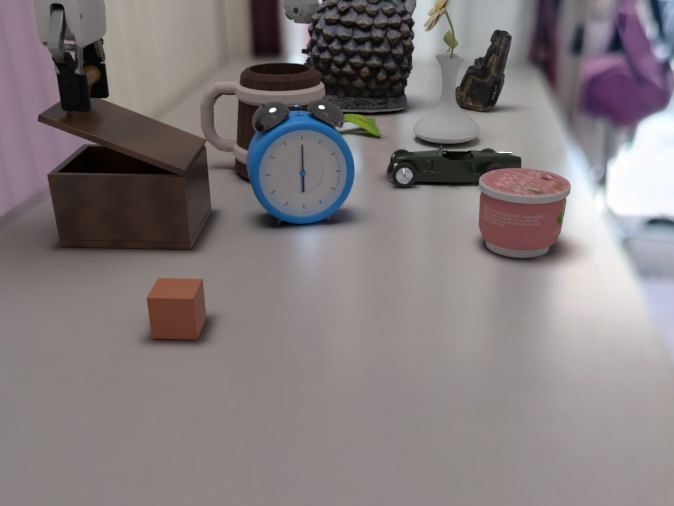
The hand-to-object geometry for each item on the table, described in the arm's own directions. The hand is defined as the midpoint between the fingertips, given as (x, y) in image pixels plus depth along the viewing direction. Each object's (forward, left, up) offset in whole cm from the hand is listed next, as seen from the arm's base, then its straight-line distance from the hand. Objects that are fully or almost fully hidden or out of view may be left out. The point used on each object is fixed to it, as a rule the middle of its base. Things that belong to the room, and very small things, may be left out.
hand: (86, 102), depth 93 cm
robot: (+23, +94, -16) cm, 98 cm away
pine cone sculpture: (+30, +66, -16) cm, 74 cm away
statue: (+53, +67, -16) cm, 87 cm away
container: (+51, -3, -16) cm, 54 cm away
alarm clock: (+24, +5, -16) cm, 29 cm away
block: (+15, -26, -16) cm, 34 cm away
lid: (+4, 0, -4) cm, 6 cm away
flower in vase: (+45, +43, -16) cm, 64 cm away
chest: (+4, 0, -16) cm, 16 cm away
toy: (+24, +47, -16) cm, 55 cm away
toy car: (+45, +22, -16) cm, 53 cm away
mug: (+17, +25, -16) cm, 34 cm away
